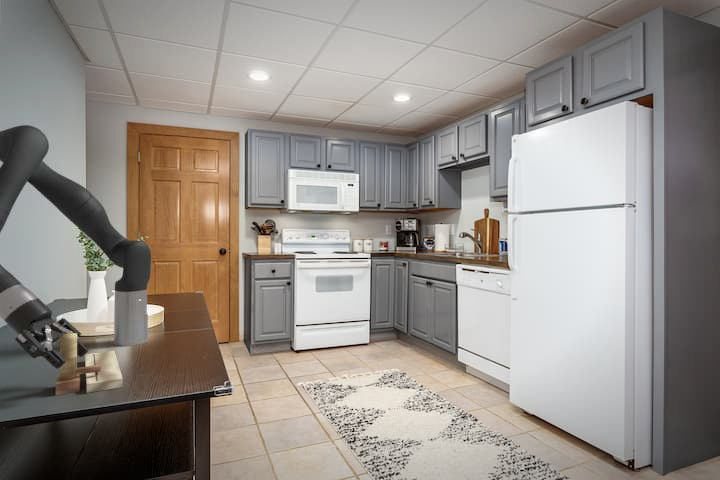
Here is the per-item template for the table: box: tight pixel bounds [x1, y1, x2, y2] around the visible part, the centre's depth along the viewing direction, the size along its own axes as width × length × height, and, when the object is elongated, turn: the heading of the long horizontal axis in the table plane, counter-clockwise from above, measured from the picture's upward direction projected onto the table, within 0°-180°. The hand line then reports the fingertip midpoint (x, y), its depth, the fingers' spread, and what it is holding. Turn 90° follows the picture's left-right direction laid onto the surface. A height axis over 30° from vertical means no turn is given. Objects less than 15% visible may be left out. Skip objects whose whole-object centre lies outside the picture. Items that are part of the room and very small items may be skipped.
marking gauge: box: [55, 332, 101, 396], centre depth 97 cm, size 8×6×12 cm
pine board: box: [84, 350, 124, 394], centre depth 106 cm, size 7×26×2 cm, turn 34°
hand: (73, 359), depth 96 cm, fingers open, 8 cm apart
